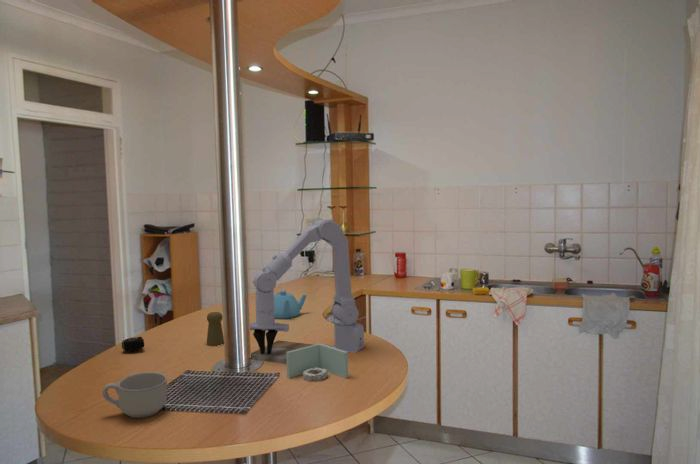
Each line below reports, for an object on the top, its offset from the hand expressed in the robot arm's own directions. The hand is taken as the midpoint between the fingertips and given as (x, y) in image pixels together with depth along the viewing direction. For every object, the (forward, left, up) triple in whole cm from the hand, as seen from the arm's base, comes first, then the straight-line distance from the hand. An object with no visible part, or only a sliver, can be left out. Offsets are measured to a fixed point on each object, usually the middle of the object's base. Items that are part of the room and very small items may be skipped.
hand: (266, 353), depth 161 cm
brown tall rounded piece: (+26, -7, -2) cm, 27 cm away
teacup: (+5, +47, -2) cm, 47 cm away
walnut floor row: (-4, -11, -2) cm, 12 cm away
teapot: (+26, -53, -2) cm, 59 cm away
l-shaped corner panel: (-23, +10, -2) cm, 26 cm away
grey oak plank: (-4, -7, 0) cm, 8 cm away
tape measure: (+43, +9, -1) cm, 43 cm away
